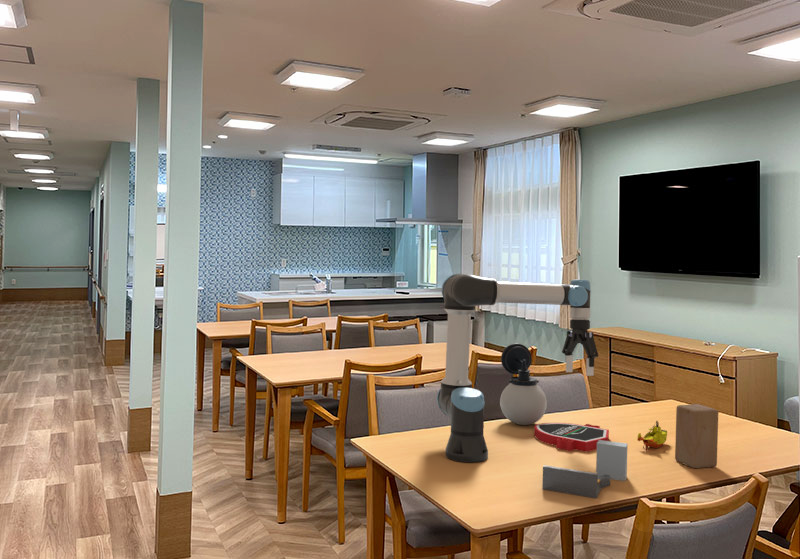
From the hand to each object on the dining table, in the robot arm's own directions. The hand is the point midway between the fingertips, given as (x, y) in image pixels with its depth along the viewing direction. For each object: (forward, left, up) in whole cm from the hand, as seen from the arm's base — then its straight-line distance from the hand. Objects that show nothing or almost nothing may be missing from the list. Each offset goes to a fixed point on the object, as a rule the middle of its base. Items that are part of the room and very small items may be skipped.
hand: (579, 373), depth 249 cm
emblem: (-2, +3, -27) cm, 27 cm away
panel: (-11, -40, -27) cm, 49 cm away
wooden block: (+26, -34, -27) cm, 51 cm away
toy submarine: (+25, -13, -27) cm, 39 cm away
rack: (-28, -46, -26) cm, 59 cm away
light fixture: (-10, +30, -27) cm, 41 cm away
